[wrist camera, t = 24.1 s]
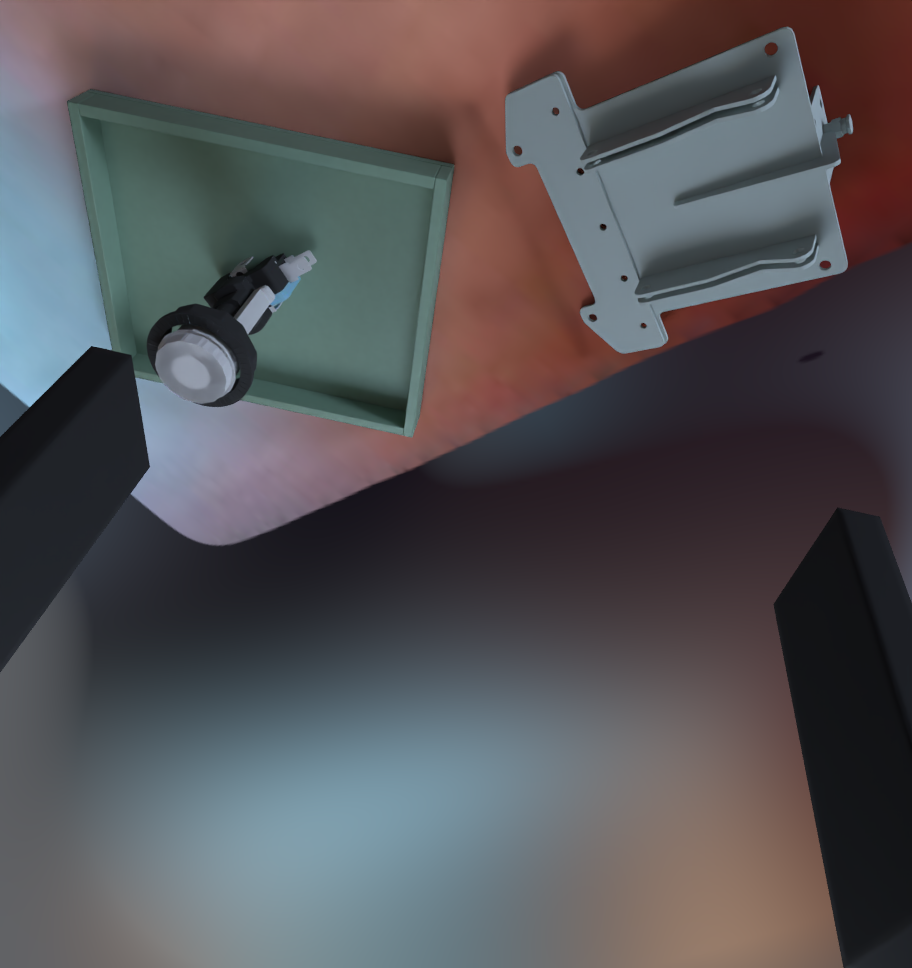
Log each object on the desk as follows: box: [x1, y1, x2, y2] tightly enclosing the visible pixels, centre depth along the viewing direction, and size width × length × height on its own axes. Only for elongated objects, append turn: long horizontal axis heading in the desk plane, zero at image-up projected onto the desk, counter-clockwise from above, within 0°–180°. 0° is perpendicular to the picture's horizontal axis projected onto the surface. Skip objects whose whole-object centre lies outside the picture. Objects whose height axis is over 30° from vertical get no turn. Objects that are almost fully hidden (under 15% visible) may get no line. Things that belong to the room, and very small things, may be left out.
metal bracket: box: [505, 27, 853, 353], centre depth 37 cm, size 14×6×15 cm
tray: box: [67, 89, 454, 437], centre depth 44 cm, size 19×16×2 cm
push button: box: [147, 250, 317, 407], centre depth 41 cm, size 7×5×10 cm
